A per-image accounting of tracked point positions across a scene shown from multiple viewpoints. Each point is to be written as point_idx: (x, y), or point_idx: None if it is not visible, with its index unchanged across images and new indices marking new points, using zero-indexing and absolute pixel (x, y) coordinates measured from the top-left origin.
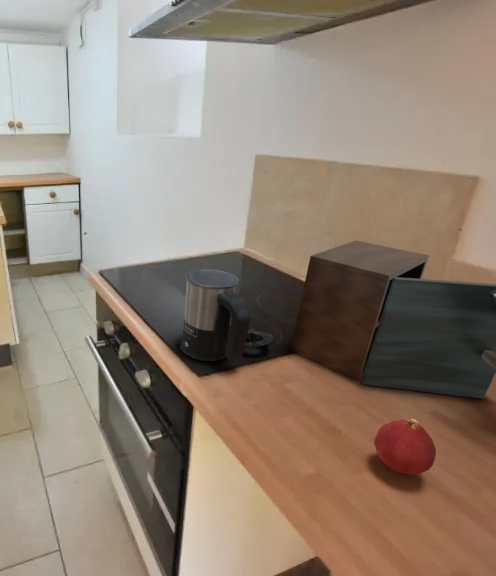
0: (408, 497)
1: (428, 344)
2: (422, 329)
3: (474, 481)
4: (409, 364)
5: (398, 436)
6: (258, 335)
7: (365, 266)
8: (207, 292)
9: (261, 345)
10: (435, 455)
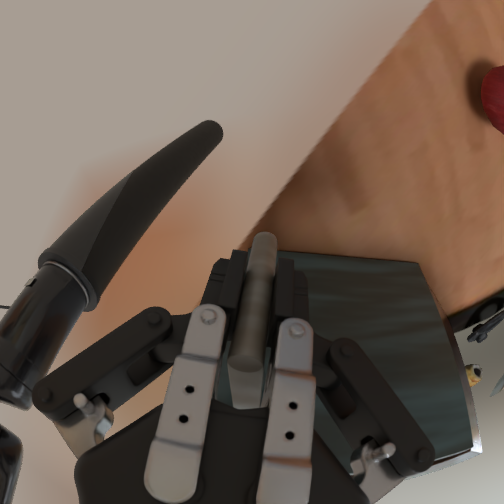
0: (492, 55)
1: (371, 331)
2: (394, 359)
3: (403, 63)
4: (380, 294)
5: None
6: (485, 332)
7: (458, 459)
8: None
9: (501, 313)
10: (501, 75)
